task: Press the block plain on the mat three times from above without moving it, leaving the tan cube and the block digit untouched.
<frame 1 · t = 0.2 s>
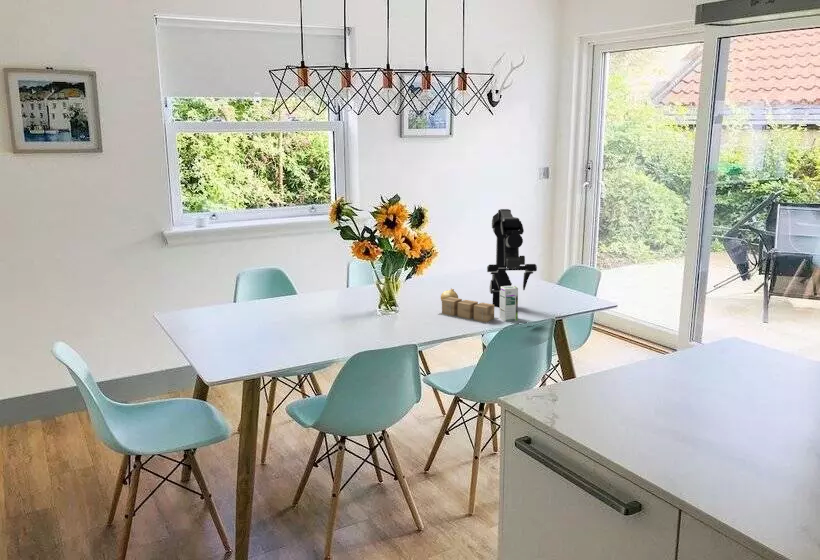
hand: (511, 290, 269), 15 cm above the table, tool pointing down, fingers open, 9 cm apart
syrup box: (508, 321, 282), on the table
tan cube 3: (451, 313, 291), point 1 cm above the table, touching mat
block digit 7: (483, 319, 282), point 1 cm above the table, touching mat
onion: (449, 304, 310), on the table
mat: (467, 318, 287), on the table
block plain: (467, 316, 286), point 1 cm above the table, touching mat
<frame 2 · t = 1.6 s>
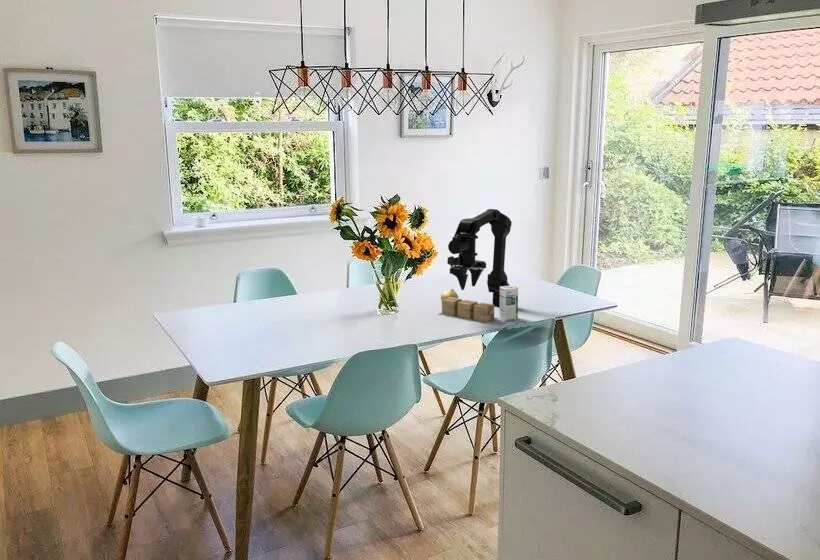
hand: (468, 288, 284), 13 cm above the table, tool pointing down, fingers open, 8 cm apart
nothing on the table moved.
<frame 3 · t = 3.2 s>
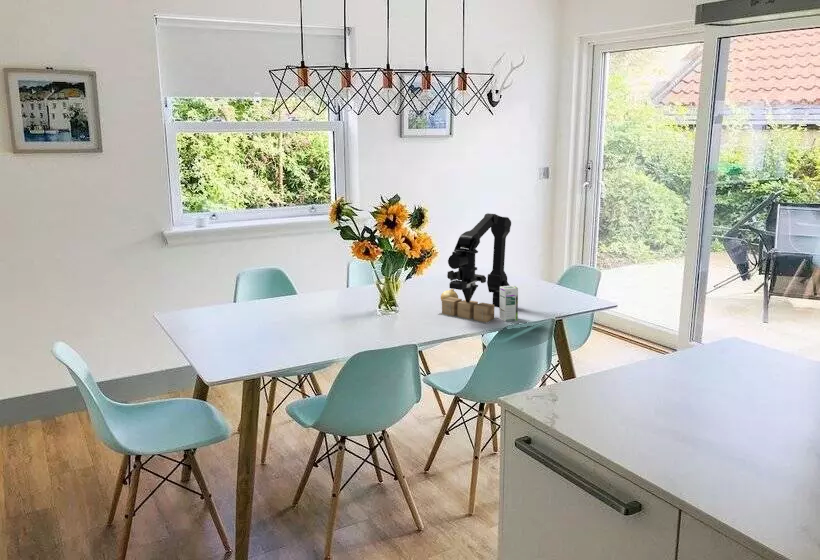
hand: (467, 302, 285), 7 cm above the table, tool pointing down, fingers closed, pressing on block plain
block plain: (467, 316, 286), point 1 cm above the table, touching gripper, mat
everything else where it was.
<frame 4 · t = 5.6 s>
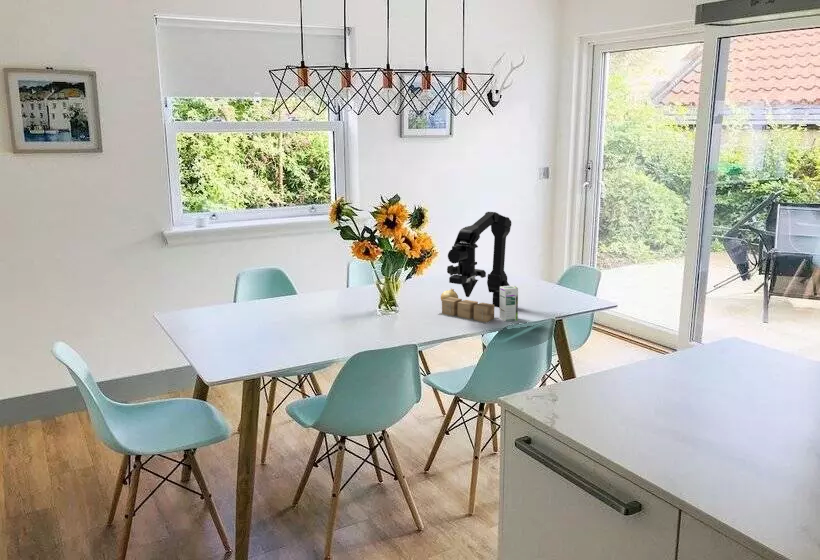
hand: (467, 296, 285), 9 cm above the table, tool pointing down, fingers closed
block plain: (467, 316, 286), point 1 cm above the table, touching mat
everything else where it was.
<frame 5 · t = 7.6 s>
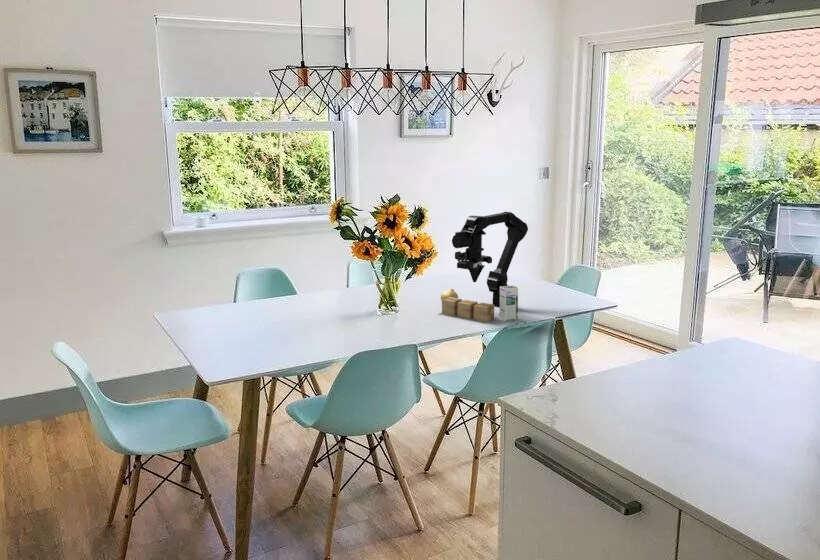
hand: (474, 282, 295), 13 cm above the table, tool pointing down, fingers closed
nothing on the table moved.
at the end: block plain moved 0.0 cm from its start; block plain tilted 0°; tan cube 3 moved 0.0 cm from its start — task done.
